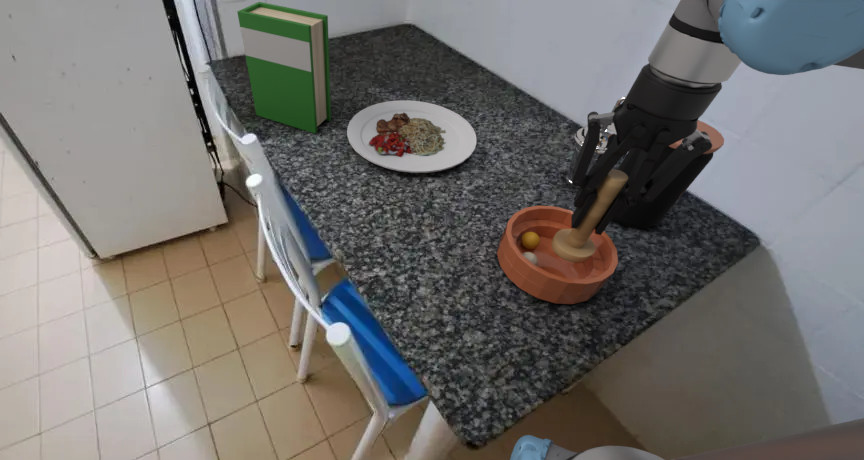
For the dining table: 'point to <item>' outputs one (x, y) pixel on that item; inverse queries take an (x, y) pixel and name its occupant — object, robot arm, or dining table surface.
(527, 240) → the bead
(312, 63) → the hardback book
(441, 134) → the plated food
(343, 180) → the dining table surface
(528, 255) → the bead
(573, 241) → the masher
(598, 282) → the bowl
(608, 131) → the cup with straw
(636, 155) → the coffee jar
